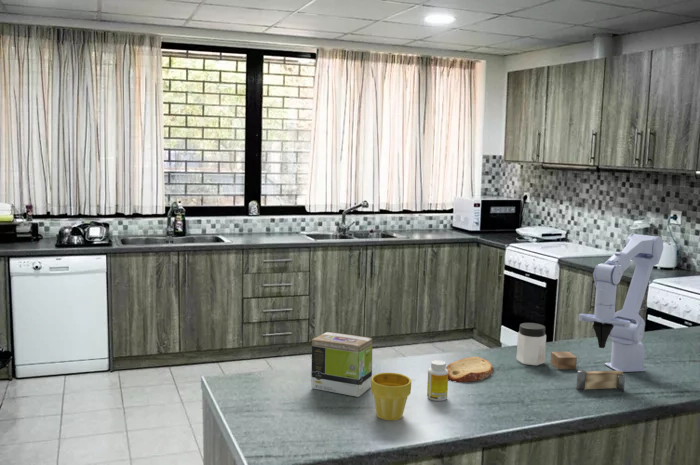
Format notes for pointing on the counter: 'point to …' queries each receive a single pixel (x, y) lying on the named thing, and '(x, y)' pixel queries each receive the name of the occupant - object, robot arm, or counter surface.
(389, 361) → the counter surface
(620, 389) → the post
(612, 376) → the gate
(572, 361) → the block
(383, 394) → the plant pot
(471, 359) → the bread slice
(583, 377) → the hinge post
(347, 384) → the tea box
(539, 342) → the jar
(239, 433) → the counter surface
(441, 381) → the supplement bottle
